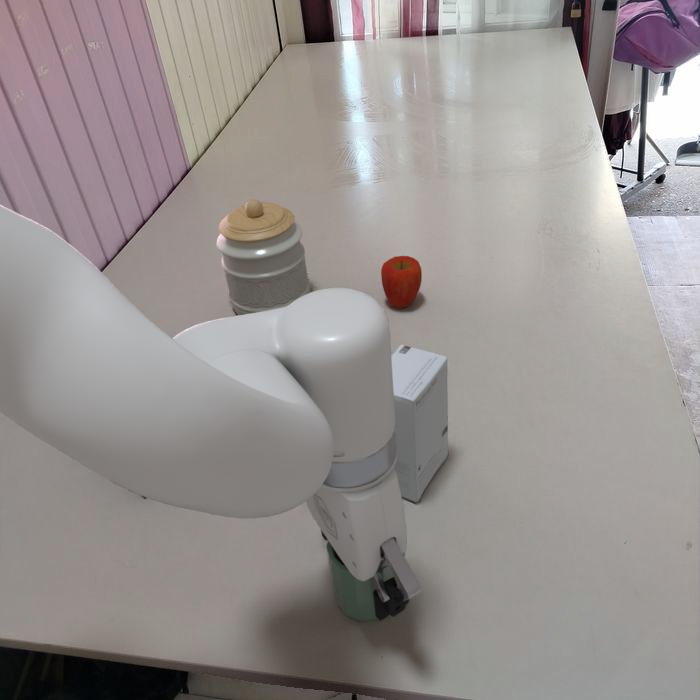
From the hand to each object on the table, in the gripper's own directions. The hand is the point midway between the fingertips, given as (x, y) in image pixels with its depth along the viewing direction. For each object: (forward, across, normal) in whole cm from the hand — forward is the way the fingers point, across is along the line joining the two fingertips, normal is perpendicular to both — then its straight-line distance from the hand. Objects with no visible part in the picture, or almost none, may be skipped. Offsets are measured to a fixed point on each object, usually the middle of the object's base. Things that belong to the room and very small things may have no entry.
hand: (363, 568), depth 59 cm
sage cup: (+4, 0, 0) cm, 4 cm away
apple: (+4, -39, +31) cm, 50 cm away
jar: (+4, -52, +14) cm, 54 cm away
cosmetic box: (+4, -10, +12) cm, 17 cm away
